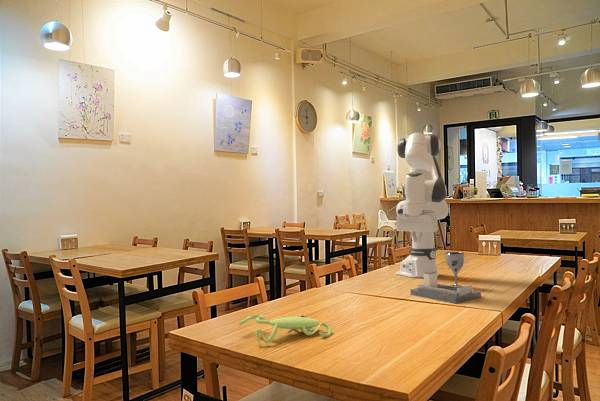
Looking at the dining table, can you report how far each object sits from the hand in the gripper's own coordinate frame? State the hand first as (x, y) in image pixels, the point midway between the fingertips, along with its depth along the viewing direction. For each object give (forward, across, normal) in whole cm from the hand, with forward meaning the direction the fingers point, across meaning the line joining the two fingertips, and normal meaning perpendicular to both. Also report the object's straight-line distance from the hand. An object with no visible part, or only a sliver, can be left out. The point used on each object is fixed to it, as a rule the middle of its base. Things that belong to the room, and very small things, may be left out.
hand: (417, 242), depth 192 cm
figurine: (+22, -13, +77) cm, 81 cm away
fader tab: (+19, -6, 0) cm, 20 cm away
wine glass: (+21, -5, -18) cm, 28 cm away
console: (+21, -13, 0) cm, 25 cm away
